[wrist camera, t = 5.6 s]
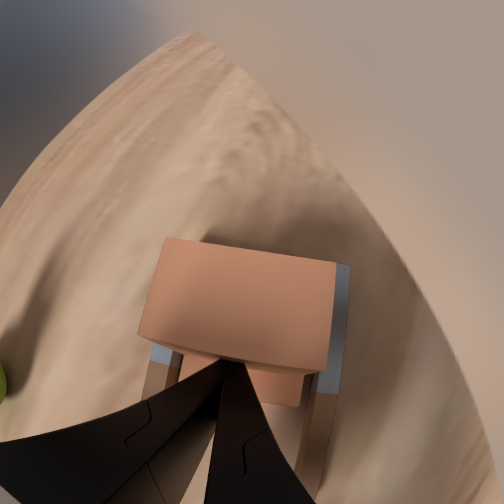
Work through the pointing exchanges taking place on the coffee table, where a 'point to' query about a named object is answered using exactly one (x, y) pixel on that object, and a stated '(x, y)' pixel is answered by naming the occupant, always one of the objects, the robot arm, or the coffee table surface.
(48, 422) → the coffee table surface
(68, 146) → the coffee table surface
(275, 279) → the block
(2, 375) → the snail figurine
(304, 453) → the beam slot
